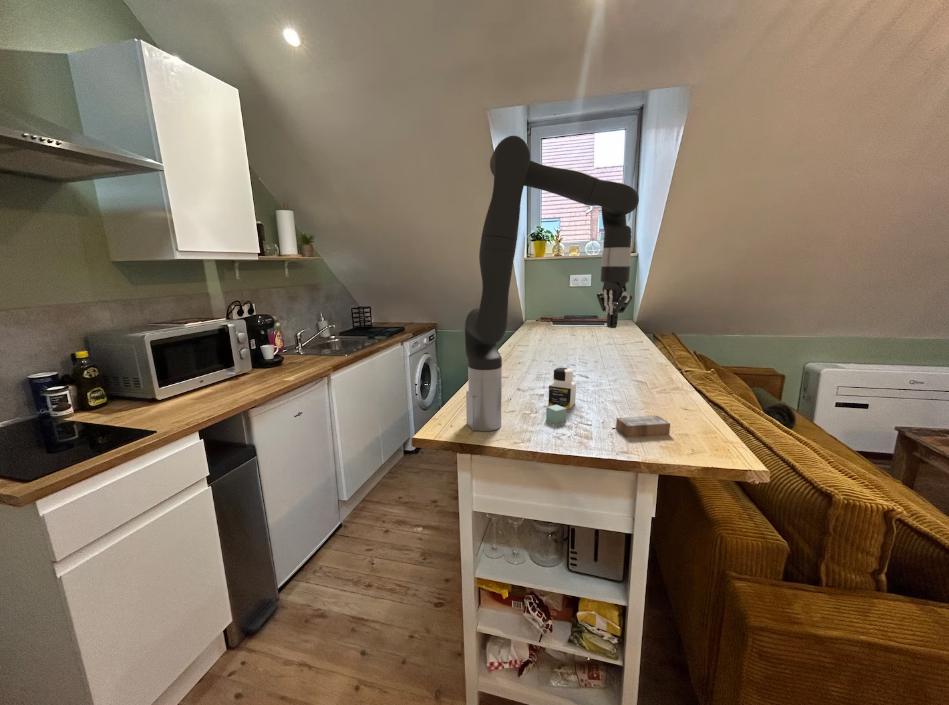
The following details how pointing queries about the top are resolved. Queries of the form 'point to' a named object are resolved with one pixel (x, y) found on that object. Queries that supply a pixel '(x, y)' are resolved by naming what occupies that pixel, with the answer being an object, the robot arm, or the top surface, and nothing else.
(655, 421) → the walnut block
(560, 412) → the pale green block
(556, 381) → the medicine bottle
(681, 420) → the top surface
